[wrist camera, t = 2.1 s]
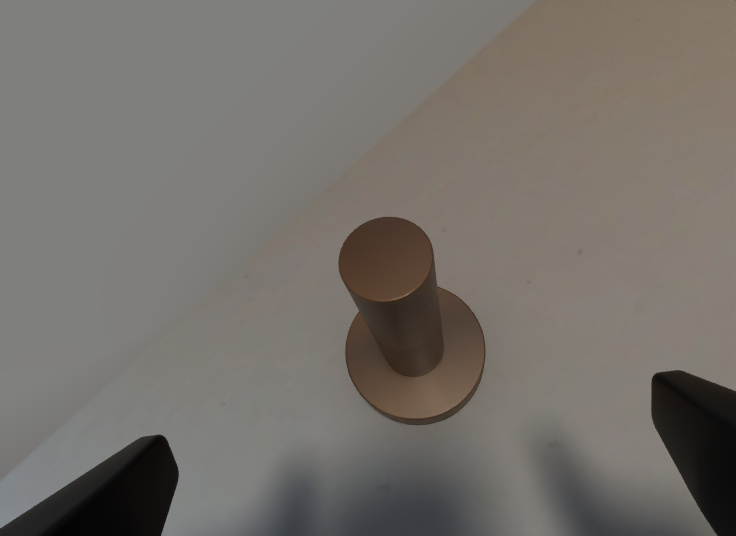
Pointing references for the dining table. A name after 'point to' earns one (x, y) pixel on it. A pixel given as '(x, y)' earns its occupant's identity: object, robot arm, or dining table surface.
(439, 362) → the brown flanged post
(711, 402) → the robot arm
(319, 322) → the dining table surface
